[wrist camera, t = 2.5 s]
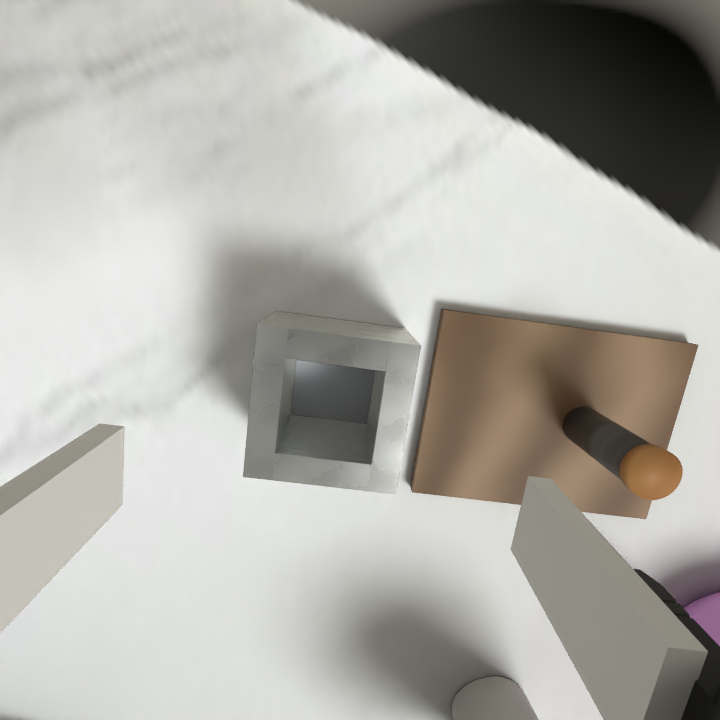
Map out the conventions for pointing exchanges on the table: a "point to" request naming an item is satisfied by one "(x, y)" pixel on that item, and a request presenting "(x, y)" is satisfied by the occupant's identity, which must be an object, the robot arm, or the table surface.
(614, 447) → the keeper
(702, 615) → the teapot
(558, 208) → the table surface
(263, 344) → the hollow square block
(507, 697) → the coffee cup
